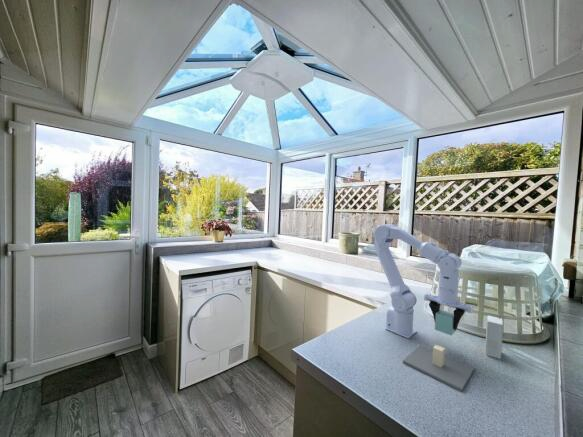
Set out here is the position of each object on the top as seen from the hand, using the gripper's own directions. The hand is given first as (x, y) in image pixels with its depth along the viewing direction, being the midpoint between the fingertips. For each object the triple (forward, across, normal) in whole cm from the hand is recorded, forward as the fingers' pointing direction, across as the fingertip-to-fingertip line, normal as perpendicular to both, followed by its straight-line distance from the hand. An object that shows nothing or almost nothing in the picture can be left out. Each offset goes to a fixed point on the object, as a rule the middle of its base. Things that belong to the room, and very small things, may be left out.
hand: (445, 325), depth 87 cm
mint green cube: (+2, 0, 0) cm, 2 cm away
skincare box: (+8, +12, +10) cm, 18 cm away
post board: (+8, +2, -13) cm, 16 cm away
